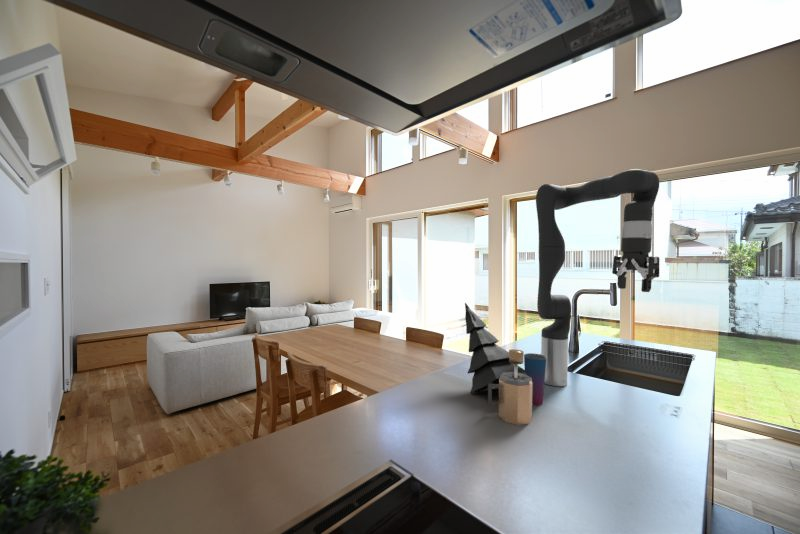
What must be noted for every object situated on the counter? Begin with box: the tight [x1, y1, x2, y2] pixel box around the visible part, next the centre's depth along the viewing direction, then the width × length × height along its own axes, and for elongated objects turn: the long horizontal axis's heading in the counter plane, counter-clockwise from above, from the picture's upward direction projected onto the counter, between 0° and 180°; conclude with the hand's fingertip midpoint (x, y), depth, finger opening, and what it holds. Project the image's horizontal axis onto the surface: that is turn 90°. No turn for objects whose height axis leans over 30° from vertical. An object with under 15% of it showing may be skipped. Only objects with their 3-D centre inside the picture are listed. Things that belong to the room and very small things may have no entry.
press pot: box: [487, 372, 533, 426], centre depth 98 cm, size 9×11×12 cm
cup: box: [523, 352, 546, 406], centre depth 110 cm, size 7×7×15 cm
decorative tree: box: [464, 302, 525, 398], centre depth 121 cm, size 15×15×35 cm
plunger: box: [508, 348, 525, 378], centre depth 98 cm, size 4×4×18 cm
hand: (633, 290), depth 103 cm, fingers open, 8 cm apart
